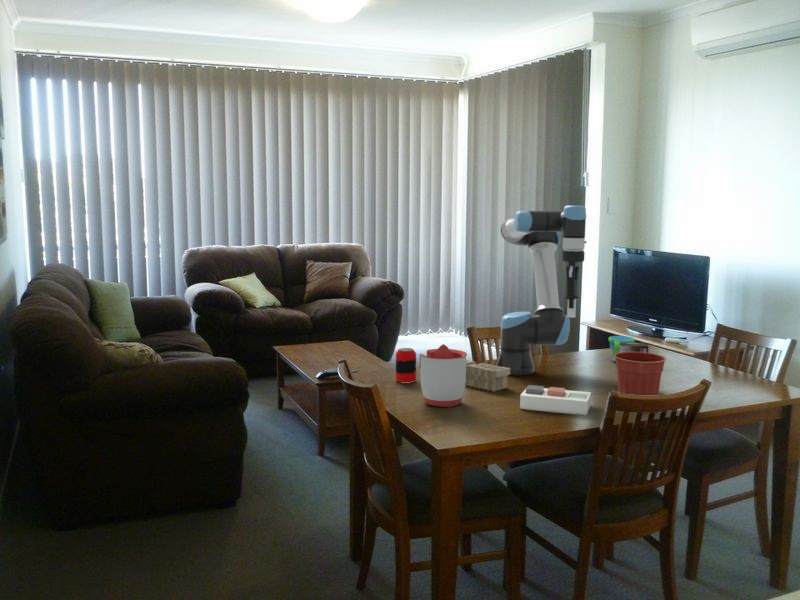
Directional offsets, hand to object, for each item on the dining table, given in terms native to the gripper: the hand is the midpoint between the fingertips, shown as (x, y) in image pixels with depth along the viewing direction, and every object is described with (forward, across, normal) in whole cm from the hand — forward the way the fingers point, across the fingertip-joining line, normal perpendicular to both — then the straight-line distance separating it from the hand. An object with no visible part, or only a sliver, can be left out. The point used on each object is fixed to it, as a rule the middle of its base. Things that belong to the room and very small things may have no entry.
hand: (571, 317), depth 263 cm
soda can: (+27, -8, +59) cm, 65 cm away
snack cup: (+27, +55, -14) cm, 63 cm away
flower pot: (+27, -10, -24) cm, 37 cm away
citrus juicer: (+27, -32, +38) cm, 56 cm away
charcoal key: (+23, -24, +8) cm, 34 cm away
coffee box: (+27, +12, -21) cm, 36 cm away
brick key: (+23, -24, +1) cm, 34 cm away
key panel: (+26, -24, +1) cm, 36 cm away
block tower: (+27, -2, +35) cm, 44 cm away
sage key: (+25, -24, -6) cm, 35 cm away
